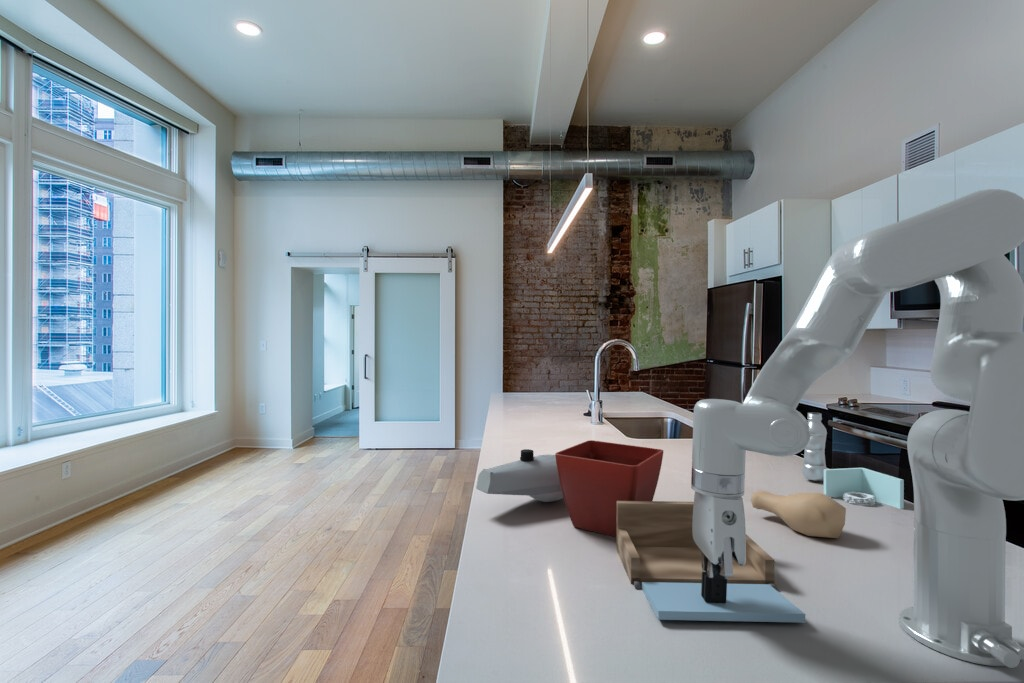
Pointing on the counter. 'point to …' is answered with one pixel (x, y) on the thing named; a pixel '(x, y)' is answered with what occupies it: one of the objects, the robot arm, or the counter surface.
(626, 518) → the box
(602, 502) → the plant pot
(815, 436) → the plastic bottle
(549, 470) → the street light
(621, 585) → the counter surface
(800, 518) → the squash
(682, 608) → the panel
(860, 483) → the l-shaped corner panel
